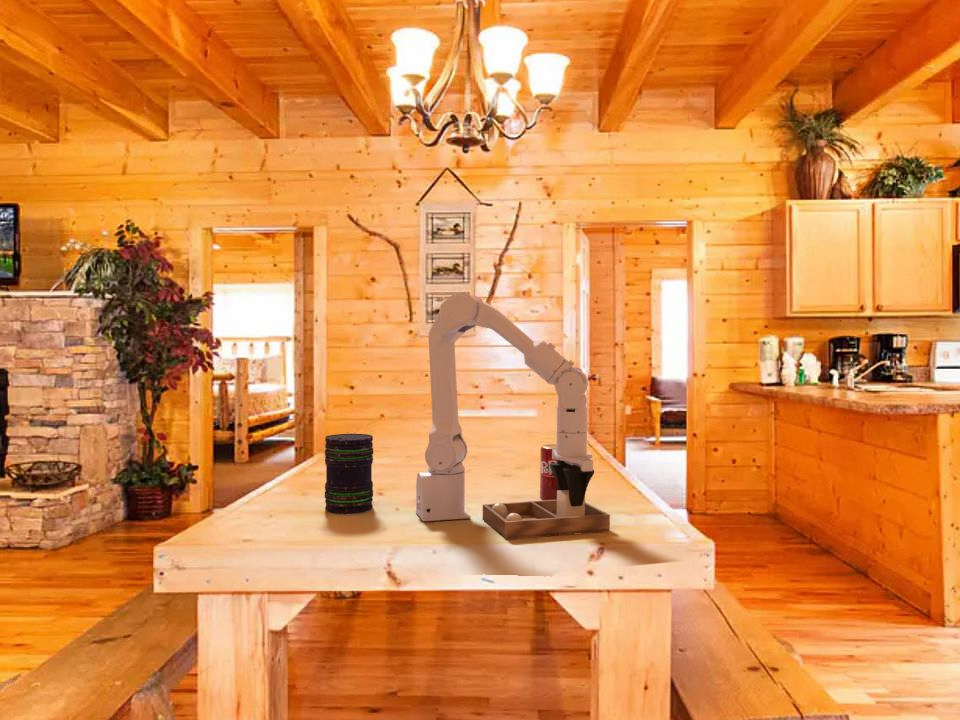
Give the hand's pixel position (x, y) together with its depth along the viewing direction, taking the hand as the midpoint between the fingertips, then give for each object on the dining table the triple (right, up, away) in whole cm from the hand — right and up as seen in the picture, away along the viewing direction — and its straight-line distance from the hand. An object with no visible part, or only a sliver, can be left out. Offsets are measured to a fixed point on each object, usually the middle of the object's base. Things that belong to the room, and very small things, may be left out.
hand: (571, 502), depth 129 cm
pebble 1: (-14, -3, 0) cm, 14 cm away
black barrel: (-44, -4, +11) cm, 46 cm away
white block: (0, -3, 0) cm, 3 cm away
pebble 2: (-11, -4, -7) cm, 14 cm away
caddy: (-5, -4, -2) cm, 7 cm away
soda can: (-1, -4, +18) cm, 19 cm away
